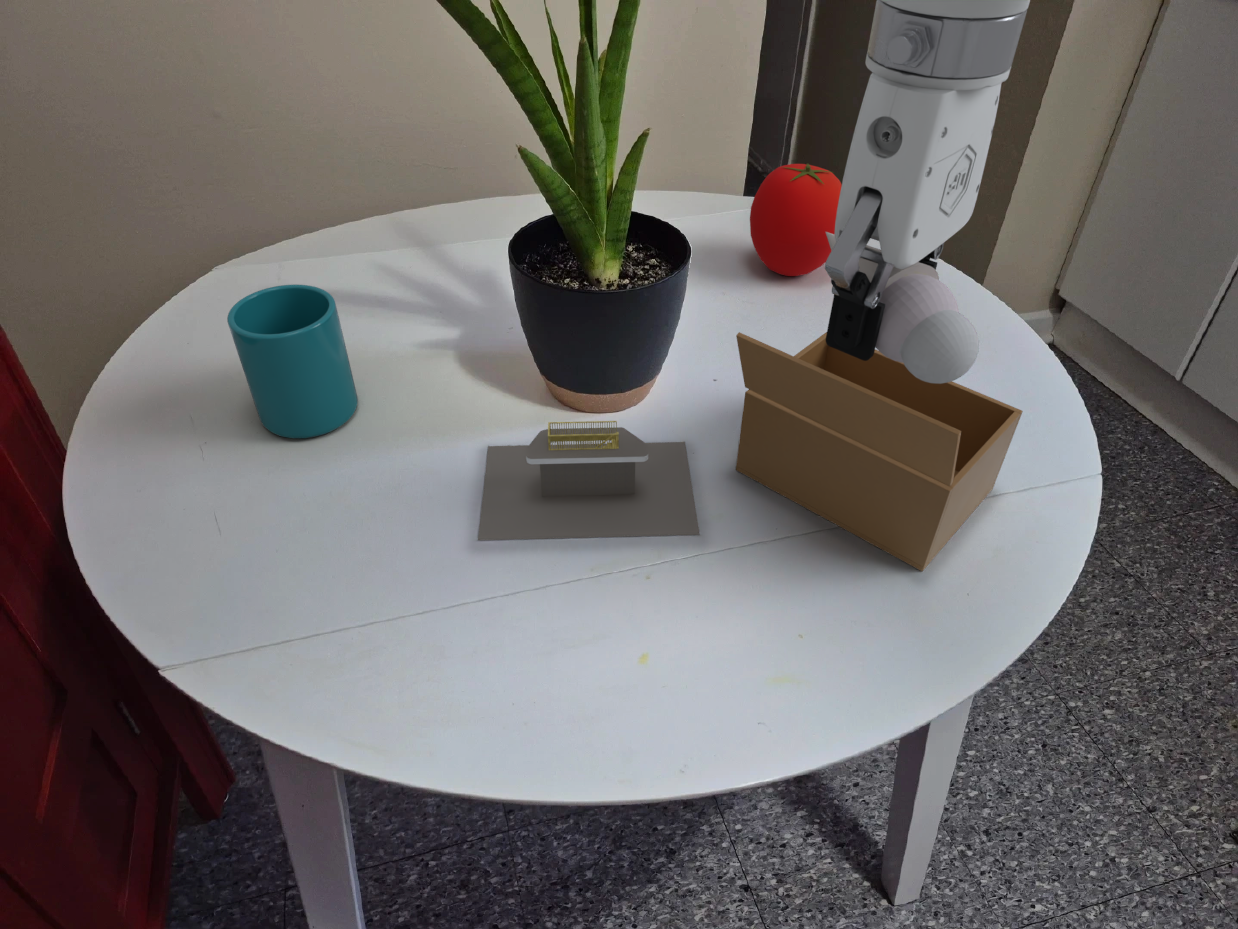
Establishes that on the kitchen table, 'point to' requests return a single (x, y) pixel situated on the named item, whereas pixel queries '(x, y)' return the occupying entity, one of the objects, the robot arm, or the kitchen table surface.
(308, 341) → the cup
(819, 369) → the flap
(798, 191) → the tomato
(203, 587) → the kitchen table surface
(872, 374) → the carton
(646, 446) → the platform
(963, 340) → the ice cream cone
